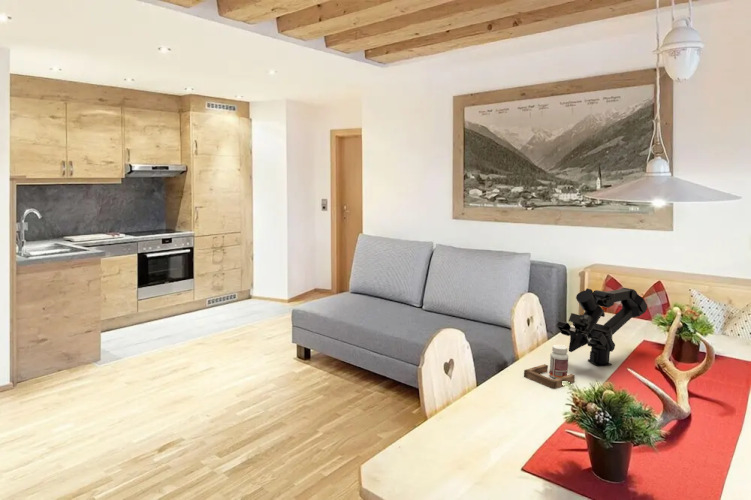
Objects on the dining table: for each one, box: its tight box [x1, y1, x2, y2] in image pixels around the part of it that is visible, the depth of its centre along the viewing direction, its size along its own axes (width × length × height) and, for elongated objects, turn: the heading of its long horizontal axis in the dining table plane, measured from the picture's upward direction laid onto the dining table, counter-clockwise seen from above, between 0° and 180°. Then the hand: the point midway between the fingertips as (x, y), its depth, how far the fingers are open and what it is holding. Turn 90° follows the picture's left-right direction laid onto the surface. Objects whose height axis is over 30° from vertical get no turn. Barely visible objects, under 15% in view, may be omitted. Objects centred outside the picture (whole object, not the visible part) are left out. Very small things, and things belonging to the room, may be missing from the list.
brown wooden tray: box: [523, 363, 576, 390], centre depth 188 cm, size 12×13×2 cm
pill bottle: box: [549, 344, 569, 379], centre depth 190 cm, size 6×6×11 cm
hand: (569, 351), depth 193 cm, fingers closed
